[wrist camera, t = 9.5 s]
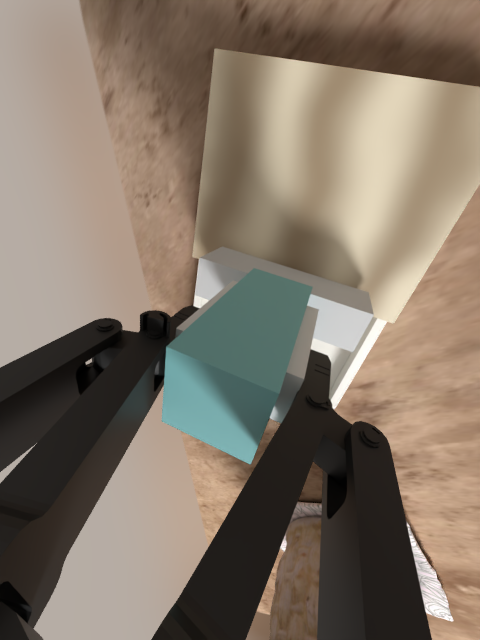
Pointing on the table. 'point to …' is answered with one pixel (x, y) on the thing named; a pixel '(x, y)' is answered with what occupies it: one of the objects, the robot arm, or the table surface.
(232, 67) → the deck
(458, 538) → the table surface
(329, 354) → the tray
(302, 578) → the cookie jar
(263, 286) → the teal and white t-block
